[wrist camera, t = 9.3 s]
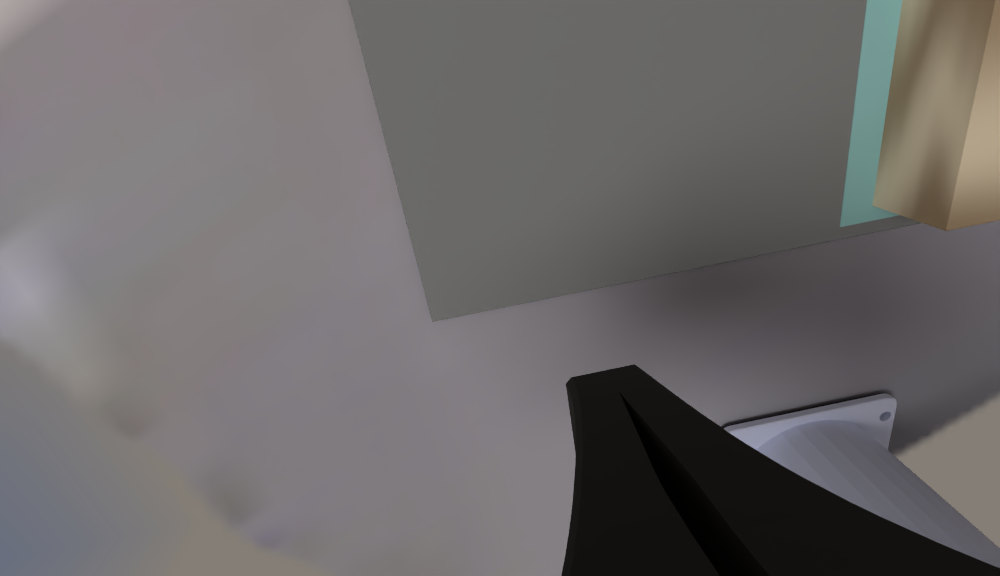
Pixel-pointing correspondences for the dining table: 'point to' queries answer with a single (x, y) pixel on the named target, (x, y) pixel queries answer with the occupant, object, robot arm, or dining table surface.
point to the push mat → (624, 135)
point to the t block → (943, 115)
